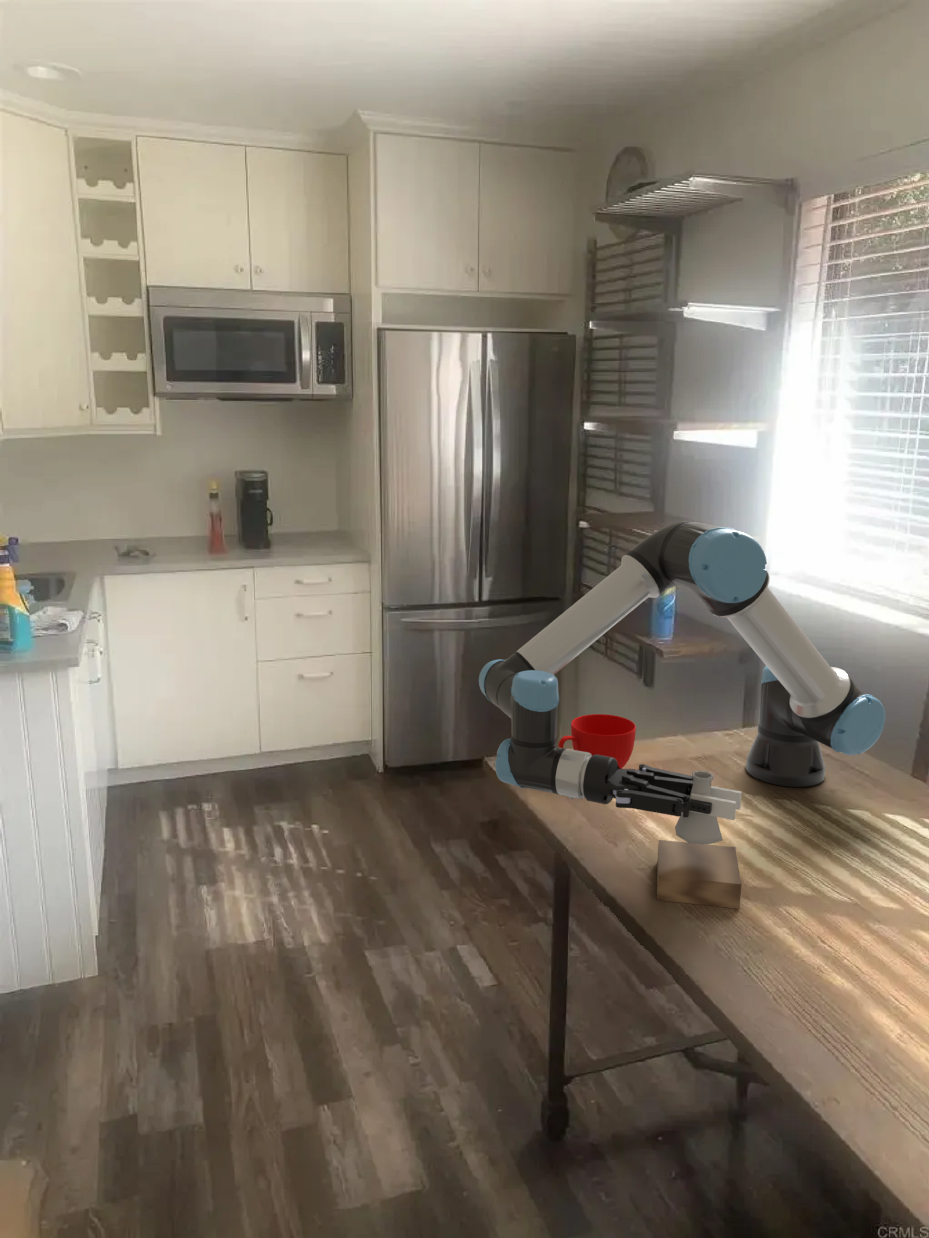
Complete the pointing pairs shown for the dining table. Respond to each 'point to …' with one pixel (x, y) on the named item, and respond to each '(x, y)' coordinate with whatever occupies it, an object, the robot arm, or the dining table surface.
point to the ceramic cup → (603, 736)
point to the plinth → (698, 874)
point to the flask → (699, 815)
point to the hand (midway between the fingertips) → (737, 805)
